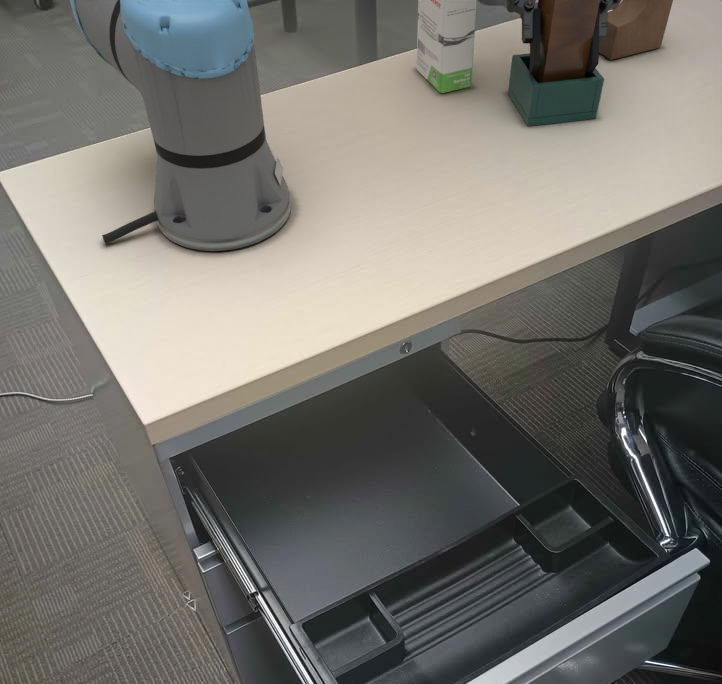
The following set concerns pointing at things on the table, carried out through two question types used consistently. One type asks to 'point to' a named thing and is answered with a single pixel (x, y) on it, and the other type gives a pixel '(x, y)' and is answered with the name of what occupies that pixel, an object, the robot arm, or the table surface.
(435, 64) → the ink box
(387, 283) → the table surface
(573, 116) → the open box
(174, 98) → the robot arm
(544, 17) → the post
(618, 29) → the wooden block
